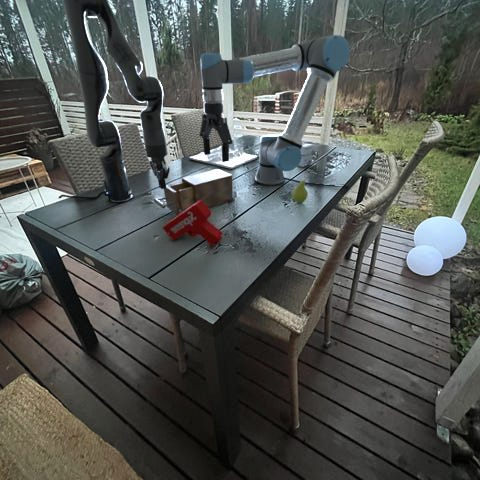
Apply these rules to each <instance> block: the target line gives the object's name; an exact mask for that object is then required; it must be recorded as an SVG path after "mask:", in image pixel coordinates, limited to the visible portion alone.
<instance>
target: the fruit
mask: <svg viewBox="0 0 480 480" xmlns="http://www.w3.org/2000/svg"><path fill="white" fill-rule="evenodd" d="M310 177H311V175H310V174H309V175H308V176H307V177H305V179H302V180H300V181H301V182H300V183H298V184H297V185H296V186H295V187H294V188H293V190H292V191H291V198H292V200H293V201H294V202H295V203H297V204H301V203H304V202H305V201H306V200H307V198H308V196H309V195H308V190H307V189H306V184H305V182H306V180H308V179H309V178H310Z"/></svg>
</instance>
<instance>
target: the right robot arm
mask: <svg viewBox="0 0 480 480" xmlns="http://www.w3.org/2000/svg"><path fill="white" fill-rule="evenodd" d="M350 53H351V52H350V44H349V42H348V40H347V39H346V38H345V36H342V35H340V34H331V35H328V36H321V37H315V38H313V39H309V40H307V41H304V42H301V43H297V44H294V45H293V46H292V47H291V48H290V47H289V48H285V49H281V50H276V51H270V52H265V53H260V54H259V53H258V54H254V55H249V56H244V57H243V56H242V57H238V58H233V59H223V58H222V54H221V53H219V52H217V53H215V52H206V53H204V52H203V53H202V54H201V55H200V72H201V73H200V75H201V85H202V99H203V100H202V101H203V113H202V114H201V123H200V124H201V125H200V130H199V137H201V138H202V142H203V153H204V155H208V154H210V150H211V141H210V135H211V132H212V130H213V129H214V130H215V131H216V132H217V134H218V137H219V139H220V141H221V143H222V144H221V146H222V162H226V161H229V148H230V145H232V144H233V140H232V135H231V131H230V129H229V124H228V119H227V117H224V116H222V114H223V113H224V103H223V101H224V92H223V89H224V88H223V85H227V84H228V85H230V84H231V85H232V84H234V85H235V84H236V85H238V84H239V85H240V84H243V85H244V84H250V83H252V82H253V79H254V78H255V77H260V76H264V75H269V74H274V73H280V72H285V71H290V70H293V71H294V72H297V71H298V72H299V71H307V78H306V80H305V82H304V84H303V87H302V89H301V92H300V94H299V97H298V98H297V101H296V103H295V106H294V108H293V110H292V112H291V115H290V117H289V120H288V122H287V124H286V126H285V129H284V131H283V132H282V133H280V134H266V135H264V134H263V135H262V136H260V138H259V143H258V145H259V153H258V157H259V158H258V167H257V171H256V174H255V177H254V181H255V183H258V184H259V185H262V186H263V185H264V186H279V185H281V184H283V183H284V181H285V180H286V181H290V182H293V183H298V184H299V183H300V182H301V181H302V180H297V179H293V178H289V177H285V175H284V172H292V171H293V170H295V169H296V168H297V167H299V166H298V165H299V163H300V161H301V158H302V155H301V151H300V150H301V148H302V146H303V145H304V144H303V142H302V140H303V138H304V135H305V133H306V131H307V129H308V127H309V125H310V122H311V120H312V118H313V116H314V114H315V111H316V110H317V107H318V105H319V102H320V101H321V98H322V96H323V95H324V92H325V90H326V88H327V85H328V84H329V83H330V82H332V81H334V79H335V77H336V75H337V73H338V72H340V71H342V70H343V69H344V68H345V67H346V65H347V64H348V62H349V58H350V55H351V54H350ZM315 183H316V182H308V181H305V185H312V186H321V187H333V188H337V187H338V188H339V187H341V186H335V185H336V184H330V185H324V184H325V183H320V184H315ZM340 185H344V186H343V187H344V188H346V189H350V187H349V186H348V185H347V184H344V183H343V184H342V183H341V184H340Z"/></svg>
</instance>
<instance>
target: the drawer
mask: <svg viewBox="0 0 480 480" xmlns="http://www.w3.org/2000/svg"><path fill="white" fill-rule="evenodd" d="M163 192H164V197H160V198H154V199H153V202H154V203H155V204H156V205H158V206H159V207H160V208H161V209H166V208H167V209H168V210H170V211H171V212H173V213H174V214H175V215H177V216H178V215H179V214H181V212H184V211H185V210H187V209H188V208H189V207H191V206H192V205H194V204H195V195H194V187H193V186H191V185H190V184H188V183H186V182H182V181H181V182H177V183H175V184H171V185H170V186H168V185H167V184H166V188H164V189H163ZM164 200H165V204H164V203H163V202H161V201H164Z"/></svg>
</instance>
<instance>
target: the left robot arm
mask: <svg viewBox="0 0 480 480" xmlns="http://www.w3.org/2000/svg"><path fill="white" fill-rule="evenodd" d="M61 1H62V5H63V9H64V12H65V17H66V19H67V20H66V21H67V24H68V28H69V32H70V37H71V40H72V45H73V51H74V56H75V62H76V70H77V75H78V81H79V85H80V90H81V94H82V101H83V107H84V118H85V128H86V135H87V138H88V140H89V142H90V144H91V146H93V148H104V147H106V150H105V151H103V152H102V153H101V154H99V156H98V160H99V164H100V168H101V170H102V171H101V172H102V173H103V178H104V180H103V185H104V188H105V189H104V190H103V191H101V192H99V193H98V194H97V195H96V196H85V195H83V196H82V195H81V196H78V195H67V194H60V195H59V196H58V199H62V198H68V199H87V200H97V199H99V198H100V197H101V196H102V195H104V197H107V198H108V201H109V202H112V203H117V204H119V203H124V202H125V203H126V202H128V201H130V200H131V199H133V194H132V189H131V186H130V183H129V182H130V181H129V179H128V174H127V170H126V166H125V162H124V157H123V156H124V155H123V154H124V153H123V148H122V147H123V146H122V142H121V136H120V133H119V129H118V127H117V125H116V124H115V123H114V121H111V120H102V121H100V112H101V108H102V106H103V104H104V101H105V99H106V97H107V94H108V90H109V80H108V78H109V77H108V71H107V66H106V63H105V61H104V60H103V58H102V56H101V55H100V53H99V52H98V50H97V48H96V46H95V45H94V44H93V42H92V40H91V38H90V36H89V32H88V29H87V25H86V24H87V23H86V18H93V19H95V18H96V20H97V21H98V22H99V23H100V24H101V25H102V27H103V28H104V32H105V38H106V39H105V41H106V48H107V51H108V53H109V55H110V57H111V58H112V60H113V63H115V65H116V67H117V68H118V69H119V71H120V72H121V74H122V77H123V79H124V83H125V85H126V87H127V91H128V93H129V95H130V96H131V97H132V98H133V99H134V100H135V101H136V102H138V103H146V107H145V108H144V109H142V110H141V111H140V113H139V119H140V125H141V129H142V139H143V144H144V149H145V154H146V157H148V158H150V161H149V165H150V168H151V170H152V173H153V175H154V177H156V179H157V182H158V187H159V189H161V190H164V188H166V185H167V182H166V179H168V178H169V176H170V175H169V174H170V167H169V166H167V162H166V158H165V157H167V156H168V153H169V151H168V146H167V139H166V134H165V129H164V124H163V118H162V111H163V103H164V102H163V101H164V100H163V99H164V90H163V86H162V84H161V81H160V80H159V79H158V78H157V77H155V76H152V75H149V76H140V74H141V73H142V71H143V63H142V61H141V60H140V57H138V55H137V54H136V52H135V50H134V49H133V47H132V46H131V44H130V43H129V41H128V39H127V37H126V35H124V32H123V30H122V28H121V26H120V24H119V22H118V21H117V18H116V15H115V13H114V12H113V9H112V7H111V6H110V3H109V1H108V0H61Z"/></svg>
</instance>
